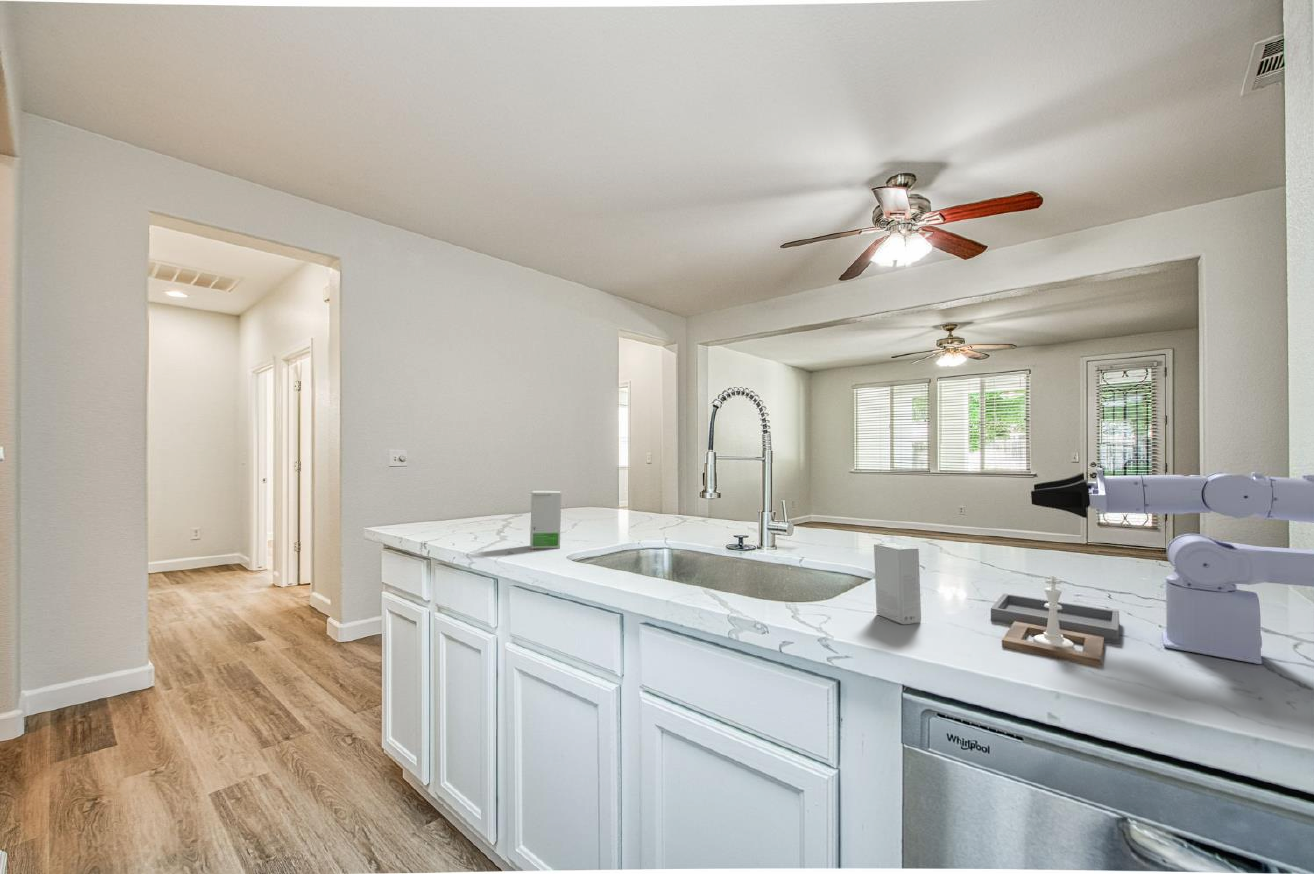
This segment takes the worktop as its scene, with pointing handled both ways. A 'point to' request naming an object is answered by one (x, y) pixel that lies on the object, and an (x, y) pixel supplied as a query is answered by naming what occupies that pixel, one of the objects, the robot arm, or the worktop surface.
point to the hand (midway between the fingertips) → (1032, 494)
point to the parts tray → (1068, 616)
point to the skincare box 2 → (897, 582)
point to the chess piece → (1053, 619)
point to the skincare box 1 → (545, 519)
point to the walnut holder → (1087, 656)
